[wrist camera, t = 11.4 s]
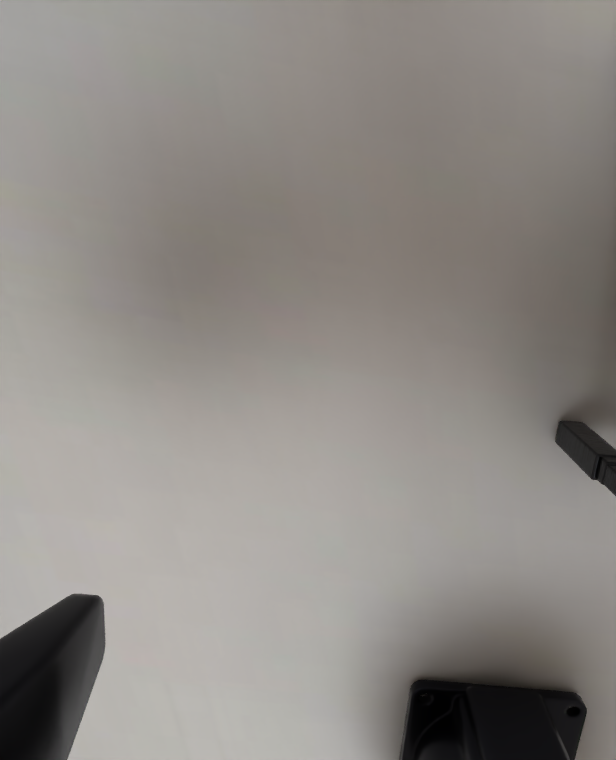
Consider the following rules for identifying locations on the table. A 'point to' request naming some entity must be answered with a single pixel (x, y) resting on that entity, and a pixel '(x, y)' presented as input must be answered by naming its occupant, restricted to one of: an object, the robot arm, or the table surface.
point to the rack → (588, 452)
